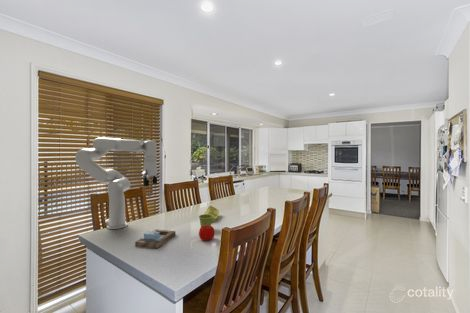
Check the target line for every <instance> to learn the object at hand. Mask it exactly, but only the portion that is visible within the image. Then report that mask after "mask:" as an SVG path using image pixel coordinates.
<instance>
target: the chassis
mask: <svg viewBox="0 0 470 313" xmlns="http://www.w3.org/2000/svg"><path fill="white" fill-rule="evenodd" d="M154 231H156V232H159V237H163V239H162V240H160V241H156V242H152V241H144V240H141V238H139V239H138V240H136V241H135V242H134V243H135V245H134V247H139V248H147V249H157V250H158V249H159V248H161V247H162V246H163V245H164V244H166V243H167V242H169V241H170V240H171V239H172V238H174V237H176V234H177V233H176V232H177V231H176V230H167V229H154V230H152V231H151V232H154Z"/></svg>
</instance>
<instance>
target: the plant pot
mask: <svg viewBox="0 0 470 313" xmlns="http://www.w3.org/2000/svg"><path fill="white" fill-rule="evenodd" d="M198 218H199V223H200V228H201V227H202V226H206V225H209V226H212V223H213V222H212V218H213V215H209V214H205V213H204V214H200V215H199V216H198Z"/></svg>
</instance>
